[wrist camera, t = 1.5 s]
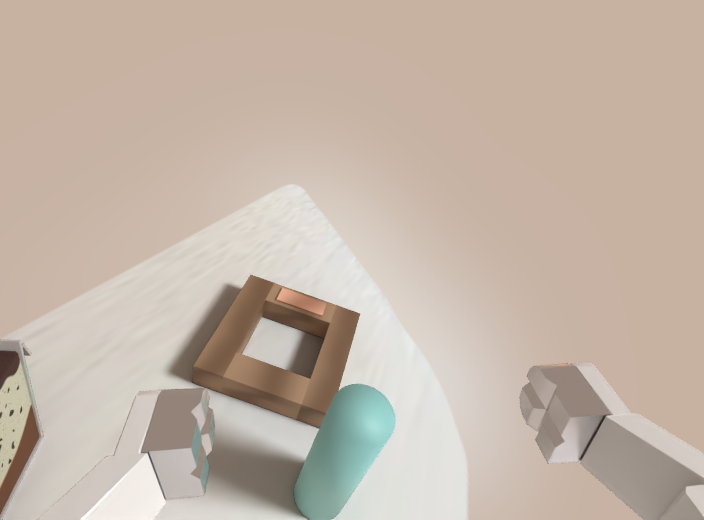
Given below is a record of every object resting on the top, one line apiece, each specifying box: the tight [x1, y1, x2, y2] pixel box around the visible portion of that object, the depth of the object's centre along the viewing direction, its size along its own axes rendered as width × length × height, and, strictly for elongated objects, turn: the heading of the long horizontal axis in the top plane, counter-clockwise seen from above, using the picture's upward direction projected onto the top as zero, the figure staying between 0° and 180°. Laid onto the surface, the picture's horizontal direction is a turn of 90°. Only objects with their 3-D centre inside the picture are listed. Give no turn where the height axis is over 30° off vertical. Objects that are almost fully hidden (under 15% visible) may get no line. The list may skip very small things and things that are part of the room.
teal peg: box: [294, 384, 395, 520], centre depth 29 cm, size 4×4×12 cm
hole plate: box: [192, 275, 360, 428], centre depth 41 cm, size 12×12×3 cm
